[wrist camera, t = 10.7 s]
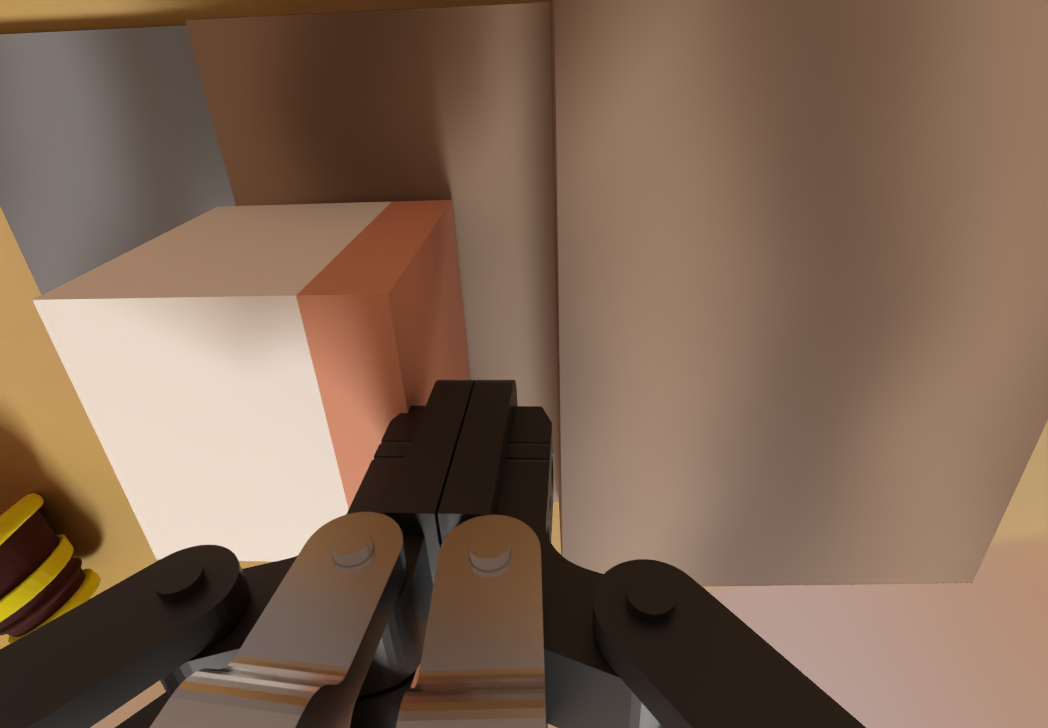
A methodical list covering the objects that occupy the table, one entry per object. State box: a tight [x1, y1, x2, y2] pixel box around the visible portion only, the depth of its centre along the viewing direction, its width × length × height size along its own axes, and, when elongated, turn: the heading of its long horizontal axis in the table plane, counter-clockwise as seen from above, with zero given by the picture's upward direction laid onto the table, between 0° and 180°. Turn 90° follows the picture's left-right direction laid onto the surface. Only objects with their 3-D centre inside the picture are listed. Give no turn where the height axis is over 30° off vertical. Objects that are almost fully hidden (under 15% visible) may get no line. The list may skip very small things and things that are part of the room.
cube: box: [33, 200, 470, 561], centre depth 14 cm, size 6×6×6 cm
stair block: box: [0, 0, 1048, 586], centre depth 16 cm, size 28×14×7 cm, turn 92°
